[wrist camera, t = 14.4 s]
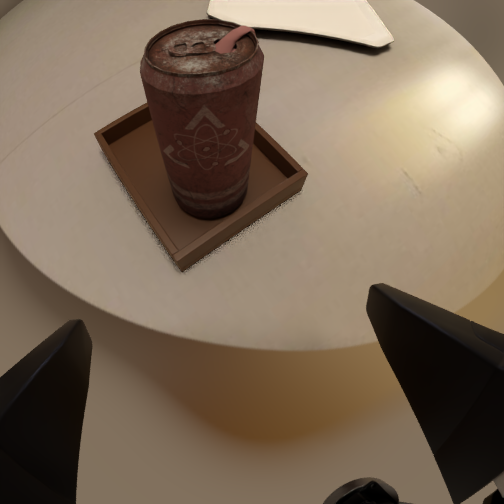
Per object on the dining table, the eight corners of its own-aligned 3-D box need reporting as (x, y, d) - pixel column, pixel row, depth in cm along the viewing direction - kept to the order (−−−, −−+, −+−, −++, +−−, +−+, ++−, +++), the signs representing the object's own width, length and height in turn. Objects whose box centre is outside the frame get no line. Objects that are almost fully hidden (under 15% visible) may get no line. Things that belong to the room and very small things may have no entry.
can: (264, 184, 25) (295, 40, 12) (210, 236, 23) (193, 95, 10) (213, 145, 26) (209, 5, 13) (159, 189, 24) (114, 50, 11)
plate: (219, -22, 43) (219, -31, 41) (354, -6, 45) (357, -13, 43) (203, 37, 33) (202, 24, 31) (399, 63, 35) (405, 53, 33)
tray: (301, 189, 26) (308, 173, 24) (181, 272, 23) (176, 262, 20) (204, 93, 29) (203, 75, 27) (102, 149, 26) (93, 133, 24)
